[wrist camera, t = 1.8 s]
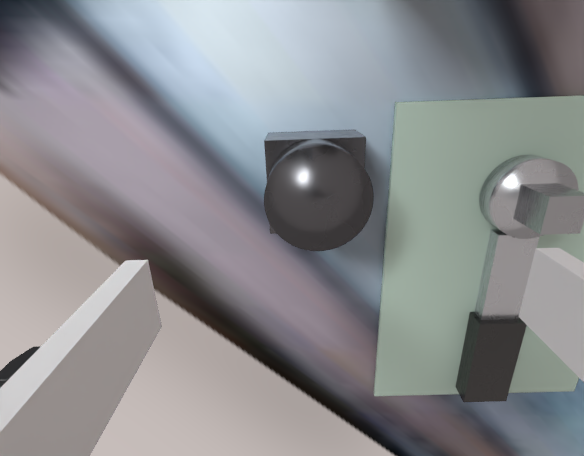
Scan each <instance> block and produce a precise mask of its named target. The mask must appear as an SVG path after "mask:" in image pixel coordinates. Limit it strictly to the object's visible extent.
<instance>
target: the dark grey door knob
mask: <svg viewBox="0 0 584 456" xmlns="http://www.w3.org/2000/svg"><path fill="white" fill-rule="evenodd" d="M264 142H265V157H266V173H267V185H266V189H265V195H264V206H265V212H266V215H267V218H268V220H269V223H270V234H272V233H277V234H278V235H279V236H280V237H281V238H282V239H283V240H285V241H286V242H288V243H289V244H291V245H293V246H295V247H298V248H301V249H305V250H310V251H324V250H330V249H334V248H337V247H339V246H341V245H344V244H346V243H347V242H349V241H350V240H352V239H353V238H354V237H355V236H356V235H357V234H358V233H359V232H360V231H362V229H363V227H364V226H365V224H366V223H367V221H368V219H369V217H370V214H371V211H372V207H373V188H372V184H371V180H370V178H369V176H368V174H367V172H366V171H365V169H364V166H365V144H366V137H365V136H364V135H362V134H361V133H359V132H358V131H356V130H332V131H304V132H276V133H268V135H267V137H266V139H265V141H264Z"/></svg>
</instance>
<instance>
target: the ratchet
mask: <svg viewBox="0 0 584 456" xmlns="http://www.w3.org/2000/svg"><path fill="white" fill-rule="evenodd" d="M578 190H579V189H578V182H577V178H576V176H575V174H574V173H573V171H572V170H571V169H570V168H569V167H568V166H566V165H565V164H563V163H561V162H558V161H554V160H551V159H547V158H544V157H540V156H536V155H520V156H516V157H513V158H510V159H508V160H506V161H504V162H503V163H501V164H500V165H498V166H497V167H496V168H495V169H494V170H493V171H492V172H491V173H490V174H489V175H488V177H487V178H486V180H485V181H484V183H483V185H482V188H481V191H480V196H479V205H480V210H481V213H482V214H483V216H484V218H485V219H486V220H487V221H488V222H489V223H491V224H492V225H493V226H495V227H496V228H498V229H493V230H490V235H489V240H488V245H487V251H486V256H485V261H484V266H483V271H482V276H481V281H480V286H479V291H478V296H477V301H476V306H475V311H474V312H470V314H469V319H468V324H467V329H466V335H465V340H464V345H463V350H462V355H461V361H460V366H459V371H458V376H457V381H456V386H455V387H456V389H457V391H458V392H459V394H460V396H461V398H462V400H463V402H485V401H506V400H507V396H508V392H509V389H510V385H511V381H512V378H513V374H514V370H515V367H516V363H517V359H518V356H519V352H520V348H521V345H522V341H523V337H524V334H525V330H526V326H527V325H526V324H525V323H524V322H523V321H522V320H521V319H520V318H519V313H520V309H521V305H522V301H523V297H524V293H525V289H526V285H527V281H528V277H529V273H530V269H531V265H532V261H533V257H534V253H535V249H536V248H537V245H538V241H539V237H540V236H543V235H548V234H579V233H580V232H581V229H582V226H583V222H584V193H583V192H581V191H578Z"/></svg>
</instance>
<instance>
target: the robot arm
mask: <svg viewBox="0 0 584 456" xmlns="http://www.w3.org/2000/svg"><path fill="white" fill-rule="evenodd" d="M519 318H520V319H521V320H522V321H523V322H524V323H525V324H526V325H527V326H528V327H529V328H530V329H531V330H532V331H533V332H534V333H535V334H536V335H537V336H538V337H539V338H540V339H541V340H542V341H543V342H544V343H545V344H546V345H547V346H548V347H549V348H550V349H551V350H552V351H553V352H554V353H555V354H556V355H557V356H558V357H559V358H560V359H561V360H562V361H563V362H564V363H565V364H566V365H567V366H568V367H569V368H570V369H571V370H572V371H573V372H574V373H575V374H576V375H577V376H578V377H579V378H580V379H581V380H582V381H583V382H584V262H582V261H580V260H579V259H577V258H575V257H574V256H572V255H570V254H569V253H567V252H565V251H563V250H562V249H560V248H536V249H535V253H534V257H533V261H532V265H531V269H530V273H529V277H528V281H527V285H526V289H525V293H524V297H523V301H522V305H521V309H520V313H519ZM161 327H162V325H161V320H160V316H159V311H158V306H157V301H156V297H155V292H154V287H153V282H152V278H151V273H150V268H149V263H148V260H129V261H125V262H124V263H123V264H122V265H121V266H120V267H119V268H118V269H117V270H116V271H115V272H114V273H113V274H112V275H111V276H110V277H109V278H108V279H107V280H106V281H105V282H104V283H103V284H102V285H101V286H100V287H99V288H98V289H97V290H96V291H95V292H94V293H93V294H92V295H91V296H90V297H89V298H88V299H87V300H86V301H85V302H84V303H83V305H81V306H80V307H79V309H77V310H76V312H75V313H74V314H73V315H72V316H71V317H70V318H69V319H68V320H67V321H66V322H65V323H64V324H63V325H62V326H61V327H60V328H59V329H58V330H57V331H56V332H55V333H54V334H53V335H52V336H51V337H50V338H49V339H48V340H47V341H46V342H45V343H44V344H43V345H42V346H41V347H33V348H31V349H29V350H27V351H26V352H24V353H23V354H21V355H20V356H18V357H16V358H15V359H13V360H12V361H10V362H9V363H8V364H7V365H6V366H5V367H4V368H3V369H2V370H1V371H0V456H90V454H91V452H92V451H93V449H94V447H95V445H96V444H97V442H98V440H99V438H100V436H101V435H102V433H103V431H104V429H105V427H106V426H107V424H108V422H109V420H110V418H111V417H112V415H113V413H114V411H115V409H116V408H117V406H118V404H119V402H120V401H121V398H122V397H123V395H124V393H125V392H126V390H127V388H128V386H129V384H130V382H131V381H132V379H133V377H134V375H135V374H136V372H137V370H138V368H139V366H140V365H141V363H142V361H143V359H144V357H145V356H146V354H147V352H148V350H149V348H150V347H151V345H152V343H153V341H154V339H155V338H156V336H157V334H158V332H159V330H160V329H161Z"/></svg>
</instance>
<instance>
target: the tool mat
mask: <svg viewBox="0 0 584 456" xmlns="http://www.w3.org/2000/svg"><path fill="white" fill-rule="evenodd" d="M520 155H536V156H540V157H544V158H547V159H551V160H554V161H558V162H561V163H563V164H565V165H566V166H568V167H569V168H570V169H571V170H572V171H573V173H574V174H575V176H576V178H577V182H578V189H579V190H578V191H581V192H583V193H584V95H581V96H554V97H526V98H499V99H472V100H445V101H418V102H395V111H394V125H393V138H392V152H391V165H390V179H389V193H388V206H387V220H386V233H385V247H384V260H383V274H382V287H381V301H380V314H379V328H378V341H377V355H376V369H375V382H374V396H404V395H444V394H459V392H458V391H457V389H456V387H455V386H456V381H457V376H458V371H459V366H460V361H461V355H462V350H463V345H464V340H465V335H466V329H467V324H468V319H469V314H470V312H474V311H475V306H476V301H477V296H478V291H479V286H480V281H481V276H482V271H483V266H484V261H485V256H486V251H487V245H488V240H489V235H490V230H493V229H498V228H496V227H495V226H493V225H492V224H491V223H489V222H488V221H487V220H486V219H485V218H484V216H483V214H482V213H481V210H480V205H479V196H480V191H481V188H482V185H483V183H484V181H485V180H486V178H487V177H488V175H489V174H490V173H491V172H492V171H493V170H494V169H495V168H496V167H497V166H498V165H500V164H501V163H503V162H504V161H506V160H508V159H510V158H513V157H516V156H520ZM537 248H560V249H562V250H563V251H565V252H567V253H569V254H570V255H572V256H574V257H575V258H577V259H579V260H580V261H582V262H584V222H583V226H582V229H581V232H580V233H579V234H548V235H543V236H540V237H539V241H538V245H537ZM578 379H579V377H578V376H577V375H576V374H575V373H574V372H573V371H572V370H571V369H570V368H569V367H568V366H567V365H566V364H565V363H564V362H563V361H562V360H561V359H560V358H559V357H558V356H557V355H556V354H555V353H554V352H553V351H552V350H551V349H550V348H549V347H548V346H547V345H546V344H545V343H544V342H543V341H542V340H541V339H540V338H539V337H538V336H537V335H536V334H535V333H534V332H533V331H532V330H531V329H530V328H529V327H528V326H526V330H525V334H524V337H523V341H522V345H521V348H520V352H519V356H518V359H517V363H516V367H515V370H514V374H513V378H512V381H511V385H510V389H509V392H508V393H523V392H562V391H574V390H575V387H576V385H577V382H578Z"/></svg>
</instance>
